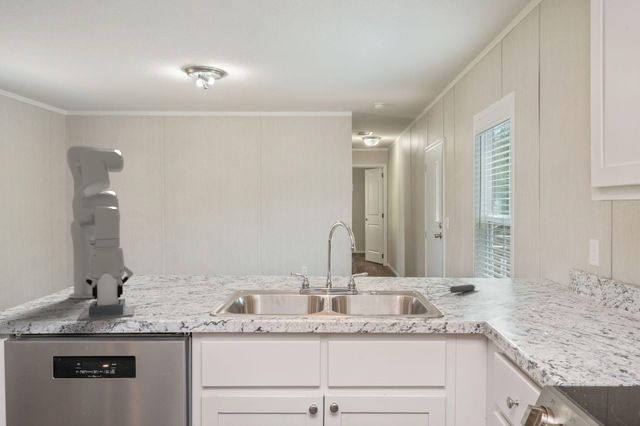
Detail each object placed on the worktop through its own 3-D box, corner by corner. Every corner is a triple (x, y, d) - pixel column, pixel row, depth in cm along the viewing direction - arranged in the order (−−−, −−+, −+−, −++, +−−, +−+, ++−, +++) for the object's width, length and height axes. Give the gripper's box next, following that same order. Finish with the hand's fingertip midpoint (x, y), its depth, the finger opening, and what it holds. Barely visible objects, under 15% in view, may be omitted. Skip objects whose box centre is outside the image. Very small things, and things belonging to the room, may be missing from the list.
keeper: (84, 311, 145) (84, 300, 145) (135, 306, 151) (135, 296, 151) (76, 320, 132) (76, 309, 132) (133, 315, 138) (132, 304, 138)
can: (122, 304, 144) (122, 269, 144) (111, 309, 138) (111, 272, 138) (104, 304, 145) (104, 269, 145) (92, 308, 139) (92, 272, 139)
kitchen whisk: (481, 291, 177) (481, 275, 177) (434, 303, 155) (434, 286, 155) (468, 289, 182) (468, 274, 182) (420, 301, 160) (420, 284, 160)
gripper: (75, 245, 135) (76, 302, 135) (135, 243, 141) (135, 297, 141) (79, 244, 142) (80, 297, 142) (136, 242, 148) (136, 293, 148)
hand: (107, 297), depth 142 cm, fingers closed on can, 6 cm apart
